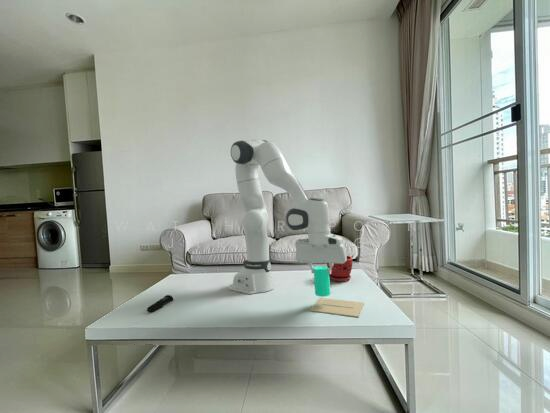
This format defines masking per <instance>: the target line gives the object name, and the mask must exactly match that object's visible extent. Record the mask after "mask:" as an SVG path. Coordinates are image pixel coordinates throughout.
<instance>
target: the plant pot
mask: <svg viewBox="0 0 550 413" xmlns="http://www.w3.org/2000/svg"><path fill="white" fill-rule="evenodd" d="M326 267H327V268H330V266H329V263H326ZM352 270H353V257H352V256H349V255H347V261H346V262H345V263H343V264H342V263H334V265H333V267H332V269H331V274H329V279H330V281H334V282H342V283H343V282H346V281H347V282H348V281H349V280H351V278H352V276H351V273H352Z"/></svg>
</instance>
